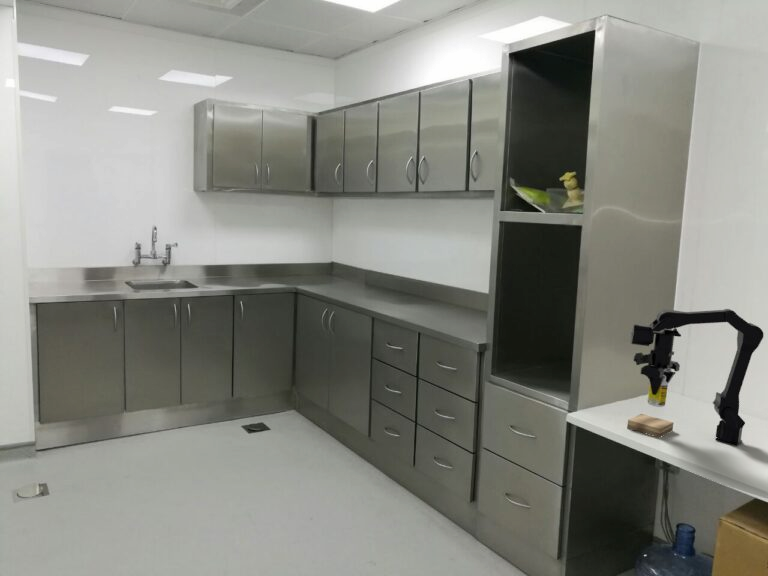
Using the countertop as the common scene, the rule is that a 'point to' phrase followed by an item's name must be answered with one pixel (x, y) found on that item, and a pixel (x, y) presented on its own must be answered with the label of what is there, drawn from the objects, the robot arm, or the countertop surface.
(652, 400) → the supplement bottle
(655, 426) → the brown box
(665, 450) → the countertop surface
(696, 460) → the countertop surface
